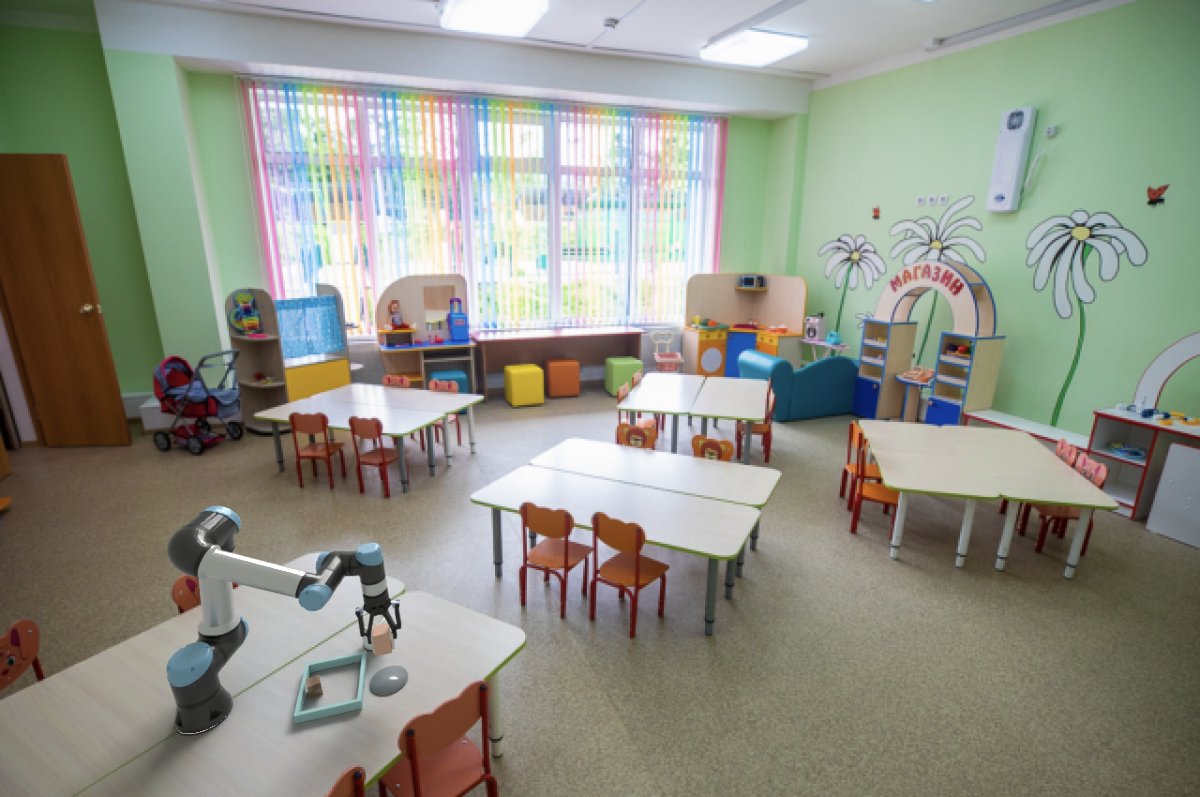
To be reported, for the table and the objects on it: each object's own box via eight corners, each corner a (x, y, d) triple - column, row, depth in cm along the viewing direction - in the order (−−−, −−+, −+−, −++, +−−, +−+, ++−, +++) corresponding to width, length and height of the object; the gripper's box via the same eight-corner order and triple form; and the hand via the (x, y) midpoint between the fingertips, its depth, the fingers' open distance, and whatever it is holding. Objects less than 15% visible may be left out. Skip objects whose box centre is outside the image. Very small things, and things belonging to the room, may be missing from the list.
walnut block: (309, 699, 186) (307, 687, 184) (308, 691, 189) (305, 679, 188) (323, 694, 188) (320, 682, 186) (321, 686, 191) (318, 674, 190)
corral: (295, 723, 177) (293, 716, 176) (307, 670, 198) (305, 663, 197) (362, 708, 183) (360, 700, 182) (367, 657, 203) (366, 650, 202)
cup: (361, 652, 205) (358, 629, 202) (368, 629, 217) (364, 607, 213) (386, 649, 207) (382, 626, 204) (391, 626, 218) (387, 604, 215)
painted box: (392, 652, 187) (389, 633, 185) (375, 656, 186) (372, 636, 183) (392, 642, 192) (389, 622, 189) (376, 645, 190) (373, 626, 188)
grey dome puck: (368, 698, 186) (368, 697, 186) (371, 671, 197) (371, 670, 197) (407, 689, 189) (407, 688, 189) (407, 663, 200) (407, 662, 200)
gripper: (405, 577, 187) (413, 634, 195) (345, 587, 182) (355, 646, 190) (404, 591, 180) (413, 650, 188) (342, 602, 175) (353, 663, 183)
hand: (384, 648), depth 189 cm, fingers closed on painted box, 5 cm apart
